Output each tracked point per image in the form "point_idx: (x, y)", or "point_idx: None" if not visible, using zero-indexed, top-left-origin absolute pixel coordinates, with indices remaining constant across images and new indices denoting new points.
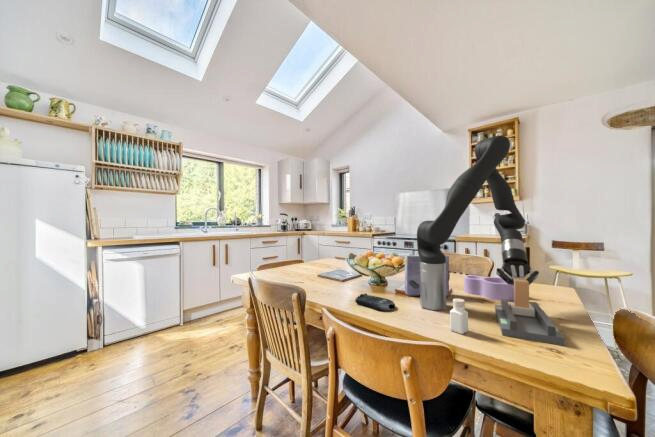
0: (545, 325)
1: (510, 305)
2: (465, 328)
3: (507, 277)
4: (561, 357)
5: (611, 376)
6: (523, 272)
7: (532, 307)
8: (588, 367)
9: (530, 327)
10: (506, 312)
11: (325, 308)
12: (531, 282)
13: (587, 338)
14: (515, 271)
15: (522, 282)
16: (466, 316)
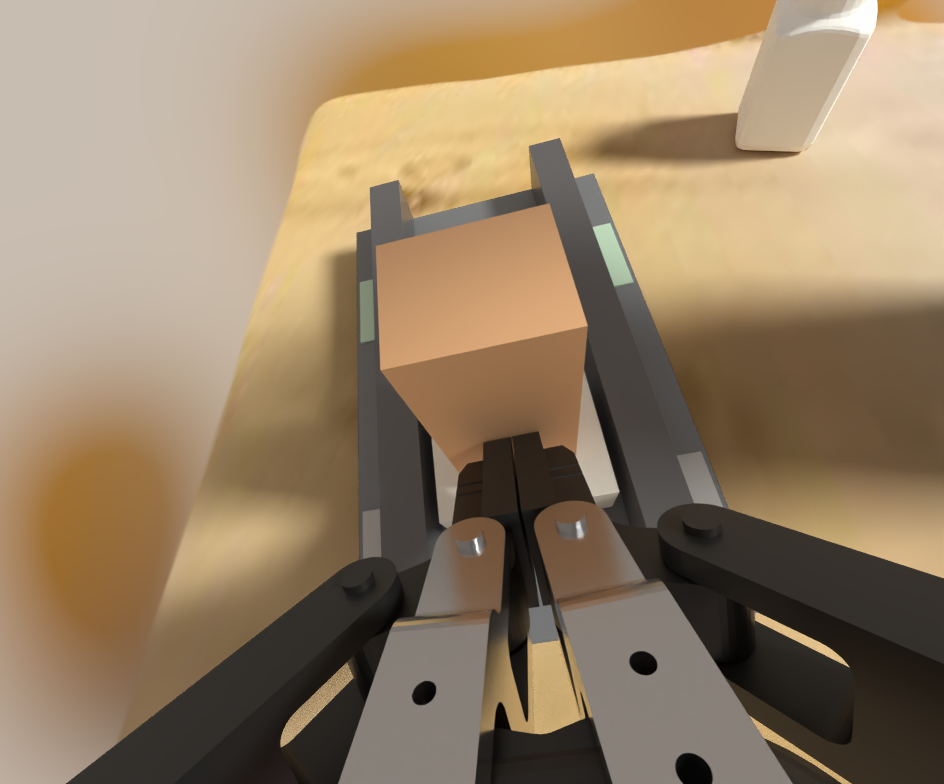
0: (406, 228)
1: (600, 435)
2: (743, 105)
3: (764, 546)
4: (403, 170)
5: (312, 152)
6: (348, 769)
7: (436, 446)
8: (348, 161)
9: None
10: (596, 242)
11: None
12: (306, 735)
13: (259, 385)
14: (614, 748)
15: (457, 234)
16: (766, 43)
